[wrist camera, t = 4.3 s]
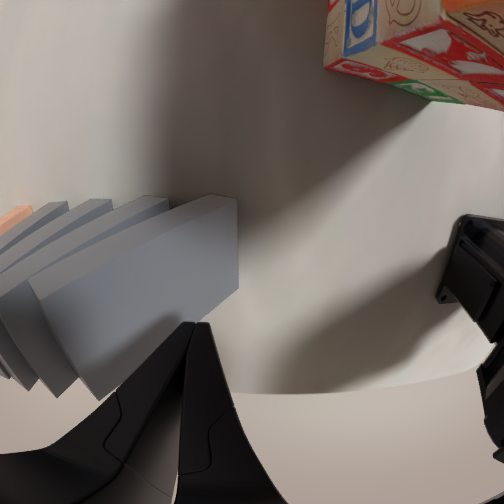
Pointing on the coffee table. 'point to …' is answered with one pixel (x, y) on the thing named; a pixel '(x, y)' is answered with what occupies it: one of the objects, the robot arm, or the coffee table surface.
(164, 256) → the domino
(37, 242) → the domino
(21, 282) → the domino
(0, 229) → the domino
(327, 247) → the coffee table surface
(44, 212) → the domino
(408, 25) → the stack of blocks
